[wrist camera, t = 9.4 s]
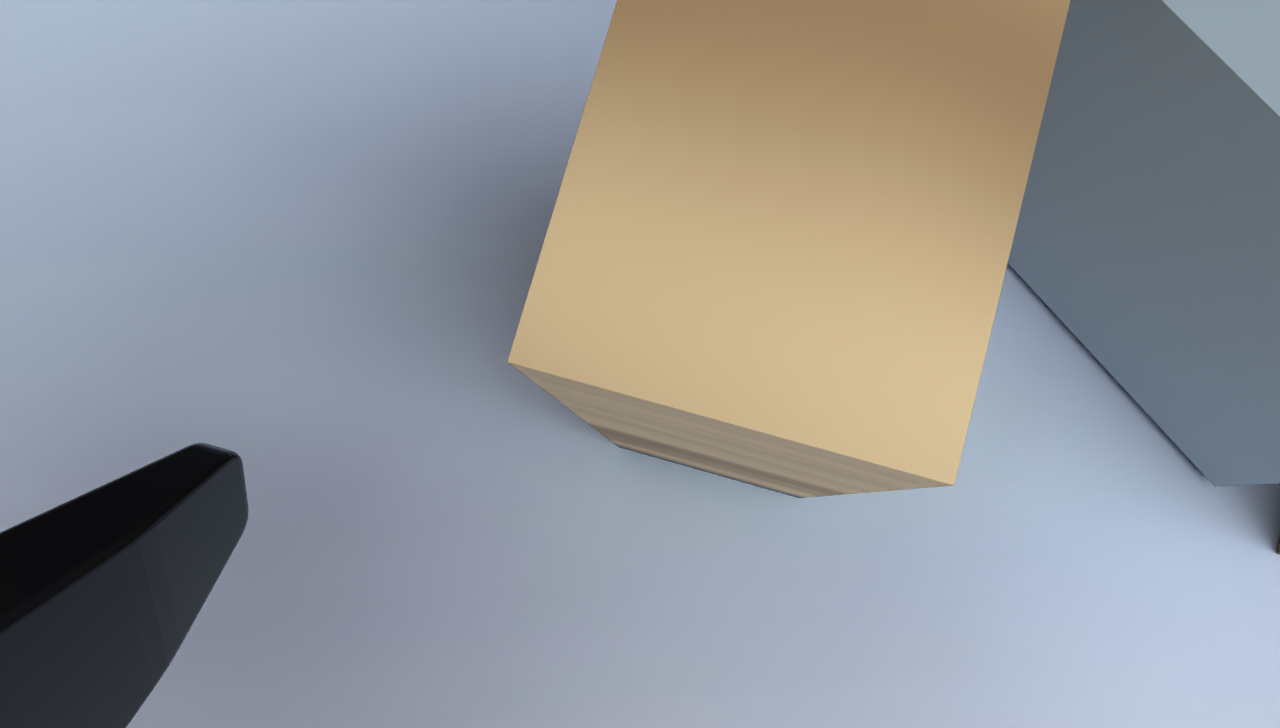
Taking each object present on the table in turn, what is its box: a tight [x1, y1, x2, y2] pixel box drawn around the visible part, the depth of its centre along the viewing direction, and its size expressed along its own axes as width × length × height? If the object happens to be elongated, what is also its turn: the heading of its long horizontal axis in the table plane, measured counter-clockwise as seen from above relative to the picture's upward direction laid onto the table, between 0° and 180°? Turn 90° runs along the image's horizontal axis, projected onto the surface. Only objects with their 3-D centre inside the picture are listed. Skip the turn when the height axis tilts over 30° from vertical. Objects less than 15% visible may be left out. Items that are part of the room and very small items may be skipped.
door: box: [1008, 0, 1280, 486], centre depth 16 cm, size 1×13×9 cm, turn 39°
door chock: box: [508, 0, 1070, 498], centre depth 15 cm, size 5×4×12 cm
